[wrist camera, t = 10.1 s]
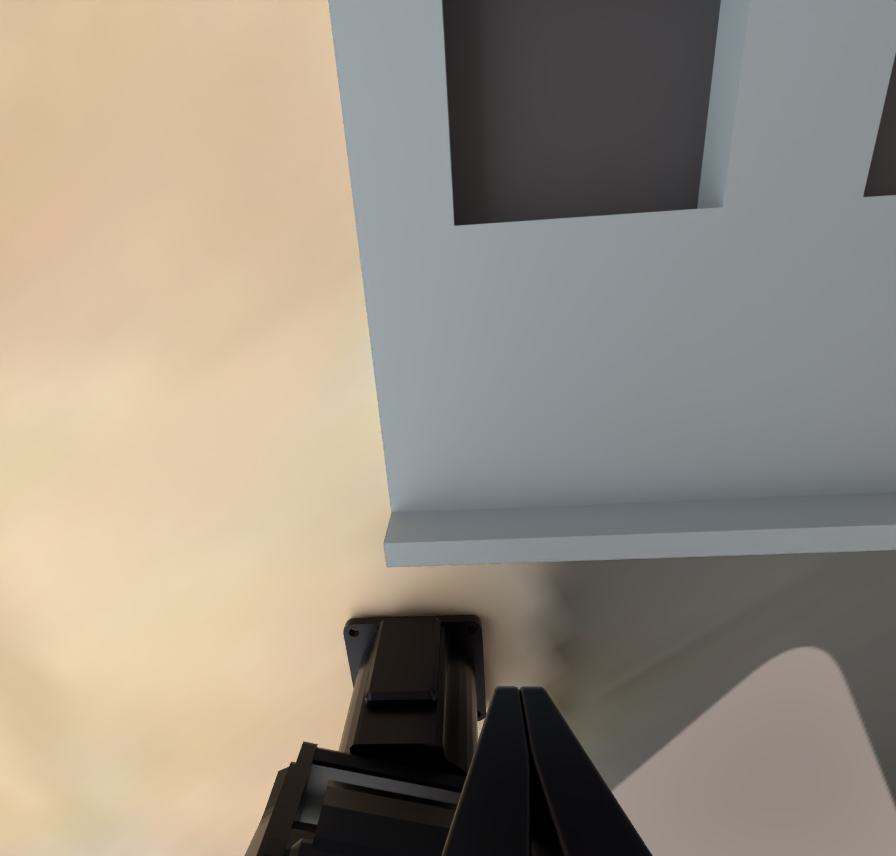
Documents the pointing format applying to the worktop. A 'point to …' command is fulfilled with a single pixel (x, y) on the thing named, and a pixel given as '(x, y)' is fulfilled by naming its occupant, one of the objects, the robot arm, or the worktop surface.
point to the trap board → (627, 273)
